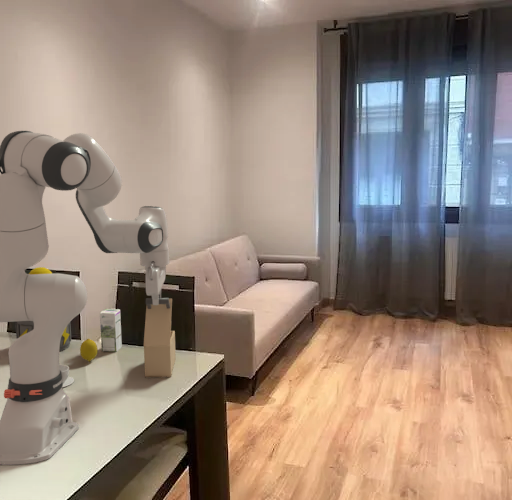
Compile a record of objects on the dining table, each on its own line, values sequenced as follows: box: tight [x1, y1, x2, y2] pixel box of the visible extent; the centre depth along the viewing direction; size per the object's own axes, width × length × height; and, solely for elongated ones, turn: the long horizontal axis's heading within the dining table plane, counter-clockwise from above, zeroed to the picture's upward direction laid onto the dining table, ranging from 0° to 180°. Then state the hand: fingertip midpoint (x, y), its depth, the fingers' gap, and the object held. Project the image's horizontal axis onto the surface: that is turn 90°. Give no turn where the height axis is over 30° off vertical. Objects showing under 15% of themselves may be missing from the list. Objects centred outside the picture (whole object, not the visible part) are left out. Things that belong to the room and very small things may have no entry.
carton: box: [143, 330, 176, 379], centre depth 166 cm, size 16×8×10 cm, turn 4°
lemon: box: [79, 338, 98, 362], centre depth 173 cm, size 6×6×8 cm
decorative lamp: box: [14, 266, 72, 353], centre depth 186 cm, size 19×19×30 cm
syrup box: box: [99, 308, 123, 353], centre depth 185 cm, size 6×6×14 cm
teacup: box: [59, 364, 75, 388], centre depth 155 cm, size 10×10×5 cm
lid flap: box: [143, 297, 173, 348], centre depth 159 cm, size 16×8×6 cm
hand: (157, 302), depth 159 cm, fingers open, 4 cm apart
